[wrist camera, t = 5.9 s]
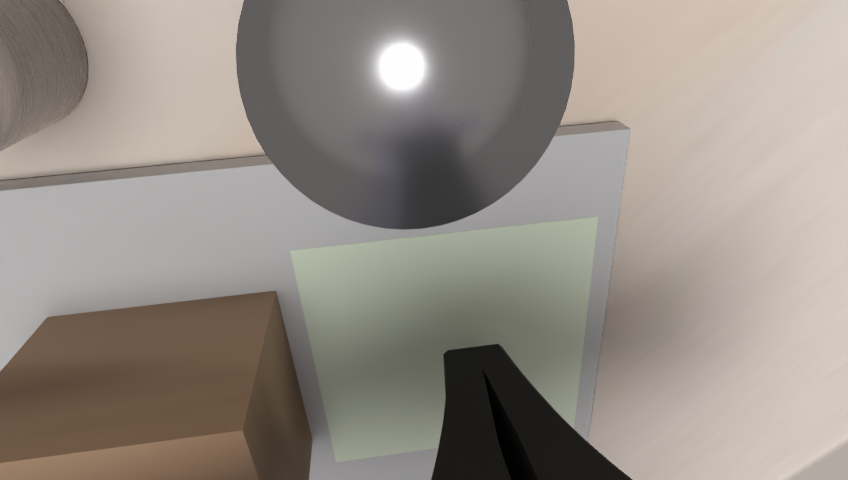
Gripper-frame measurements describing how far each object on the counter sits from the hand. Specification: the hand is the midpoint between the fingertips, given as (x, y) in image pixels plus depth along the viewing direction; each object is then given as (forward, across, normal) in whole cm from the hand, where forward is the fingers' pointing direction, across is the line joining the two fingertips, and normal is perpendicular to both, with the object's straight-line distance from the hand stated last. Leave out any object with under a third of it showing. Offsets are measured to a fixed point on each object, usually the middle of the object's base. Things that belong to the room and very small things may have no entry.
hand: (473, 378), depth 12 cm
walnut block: (+1, +7, 0) cm, 7 cm away
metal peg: (+2, +1, -8) cm, 8 cm away
